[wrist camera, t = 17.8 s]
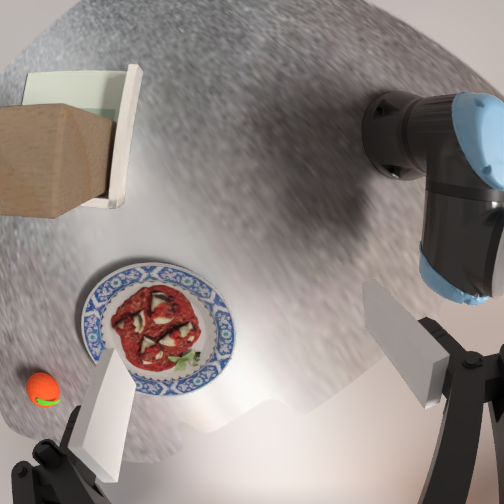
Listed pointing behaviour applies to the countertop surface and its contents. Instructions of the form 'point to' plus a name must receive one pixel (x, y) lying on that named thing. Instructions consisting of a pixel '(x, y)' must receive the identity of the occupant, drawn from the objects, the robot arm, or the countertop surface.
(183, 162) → the countertop surface
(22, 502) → the robot arm
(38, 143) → the wooden block
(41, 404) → the clementine
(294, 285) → the countertop surface
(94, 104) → the corner arena
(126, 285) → the ceramic plate
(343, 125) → the countertop surface
